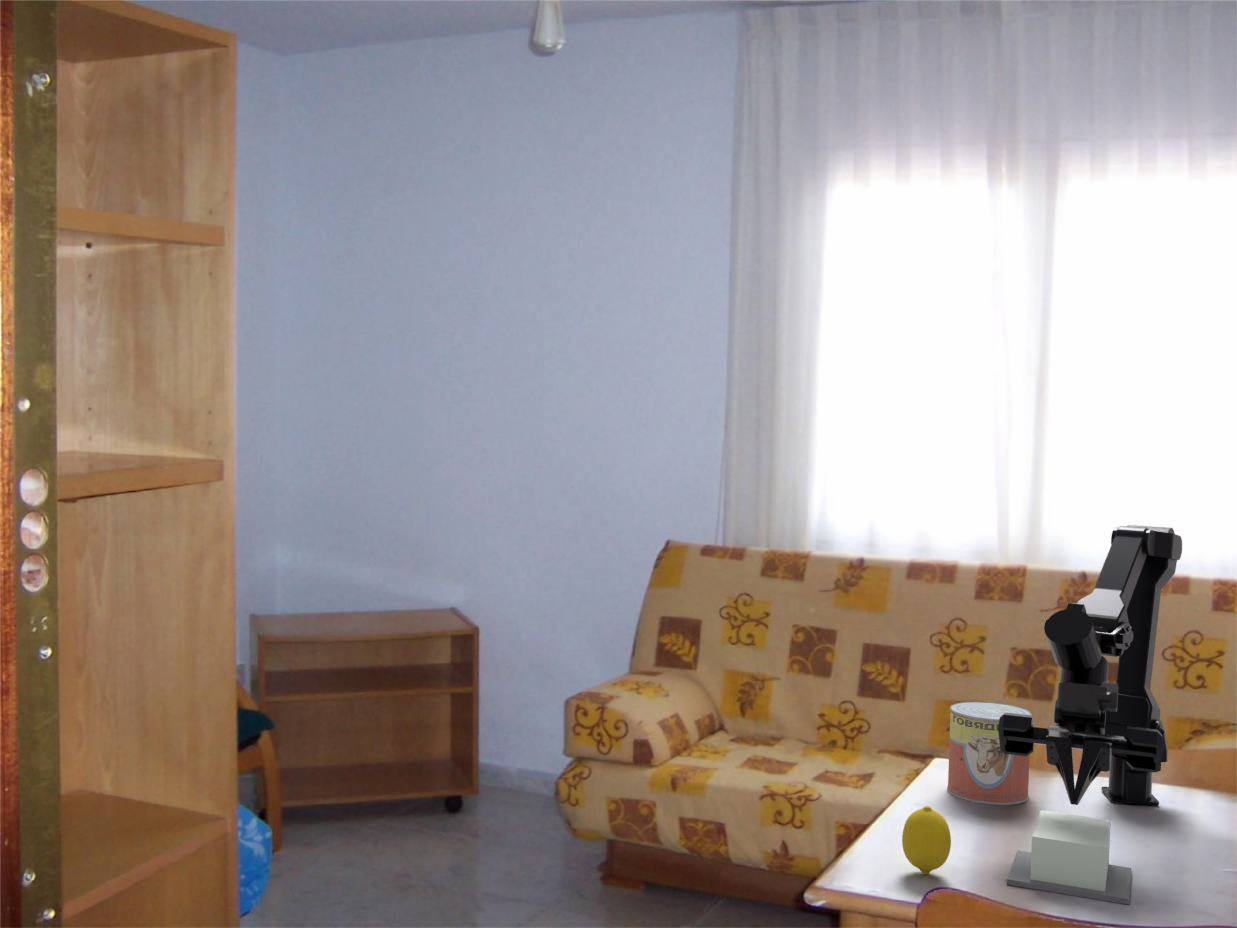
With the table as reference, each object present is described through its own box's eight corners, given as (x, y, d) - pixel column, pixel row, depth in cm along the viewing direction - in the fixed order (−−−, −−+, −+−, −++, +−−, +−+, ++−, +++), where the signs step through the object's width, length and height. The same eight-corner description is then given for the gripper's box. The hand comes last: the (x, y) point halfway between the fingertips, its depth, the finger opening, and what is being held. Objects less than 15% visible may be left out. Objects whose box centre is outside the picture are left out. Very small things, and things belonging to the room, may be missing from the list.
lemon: (941, 886, 142) (943, 816, 141) (894, 875, 145) (896, 807, 144) (955, 872, 146) (958, 804, 146) (910, 862, 149) (912, 796, 149)
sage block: (1040, 810, 153) (1031, 836, 143) (1110, 819, 150) (1106, 847, 140) (1039, 850, 153) (1030, 879, 143) (1109, 860, 150) (1104, 891, 140)
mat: (1017, 854, 153) (1017, 850, 153) (1131, 872, 148) (1131, 867, 148) (1006, 884, 143) (1006, 878, 143) (1128, 904, 138) (1129, 898, 138)
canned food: (945, 799, 176) (948, 715, 175) (948, 778, 186) (951, 698, 186) (1029, 808, 172) (1032, 722, 172) (1027, 786, 183) (1030, 705, 183)
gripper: (1002, 648, 156) (988, 756, 146) (1165, 663, 148) (1161, 778, 139) (1007, 698, 163) (994, 804, 154) (1162, 715, 156) (1158, 827, 146)
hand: (1074, 802), depth 148 cm, fingers closed
